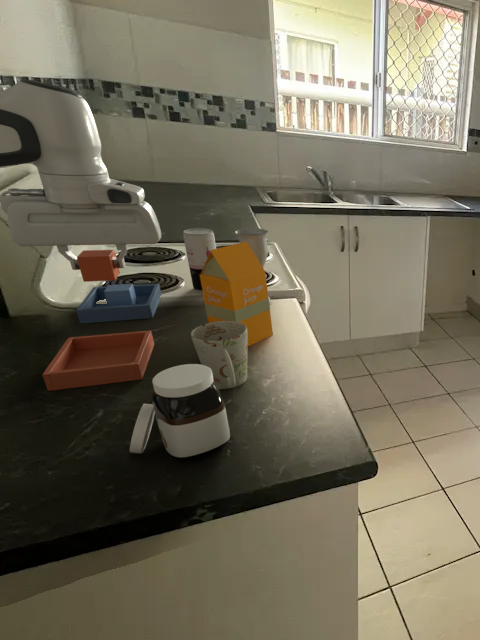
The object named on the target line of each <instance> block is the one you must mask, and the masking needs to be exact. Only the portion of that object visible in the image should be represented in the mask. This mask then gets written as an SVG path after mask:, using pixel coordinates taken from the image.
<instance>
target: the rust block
mask: <svg viewBox="0 0 480 640" xmlns="http://www.w3.org/2000/svg"><path fill="white" fill-rule="evenodd" d="M76 257H77V260H78V264H79V267H80V270H79V271H80V273H81V277H82V280H83V282H84V283H86V282H103V281H104V282H108V281H110V282H111V281H116V280H117V279H118V277H119V275H120V273H121V272H120V268H114V264H113V261H112V259H113V258H114V257H117V256H116V251H115V249H91V250H88V249H87V250H82V251H81V252H80V253H79V254H78V255H77V256H76Z"/></svg>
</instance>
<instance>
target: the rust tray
mask: <svg viewBox="0 0 480 640" xmlns="http://www.w3.org/2000/svg"><path fill="white" fill-rule="evenodd" d="M154 346H155V340H154V337H153V333H152V330H140V331H139V330H138V331H128V332H118V333H116V332H115V333H105V334H94V335H83V336H70V337H68V338H67V339H66V340H65V341H64V343H63V345H62V346H61V347H60V349H59V350H58V351H57V353H56V354H55V356H54V357H53V359H52V360H51V362H50V363H49V364H48V366H47V367H46V368H45V370H44V372H43V373H42V374H41V375H42V378H43V380H44V383H45V386H46V389H47V391H48V392H50V391H60V390H68V389H74V388H75V389H76V388H83V387H93V386H100V385H107V384H116V383H124V382H125V383H126V382H132V381H140V380H143V378H144V376H145V373H146V370H147V367H148V365H149V361H150V359H151V356H152V352H153V350H154Z"/></svg>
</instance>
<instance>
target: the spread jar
mask: <svg viewBox="0 0 480 640" xmlns="http://www.w3.org/2000/svg"><path fill="white" fill-rule="evenodd" d="M151 383H152V387H153V391H154V392H153V394H152V403H142V405H141V407H140V409H139V412H138V415H137V418H136V421H135V425H134V427H133V432H132V435H131V440H130V445H129V453H130V454H143V453H144V451H145V449H146V447H147V444H148V441H149V438H150V436H151V435H150V434H151V432H152V427H153V424H154V420H155V418H156V422H157V426H158V430H159V433H160V437H161V440H162V443H163V446H164V448H165V451H166V453H167V454H168V455H169V456H170V457H171V458H172V459H175V460H179V461H195V460H199V459H202V458H205V457H208V456H210V455H212V454H215V453H216V452H218V451H219V450H221V449H222V448H223V447H225V446H226V445H227V444H228V442H229V441H230V438H231V433H230V425H229V421H228V414H227V409H226V405H225V401H224V399H223V396H222V393H221V391H220V389H218V387H217V386H216V384H215V383H214V382H213V374H212V370H211V369H210V368H209V367H207V366H205V365H201V364H199V363H187V364H179V365H175V366H172V367H169V368H166V369H163V370H161V371H160V372H158V373H157V374H156V375H154V377H153V378H152V381H151Z"/></svg>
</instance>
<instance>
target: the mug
mask: <svg viewBox="0 0 480 640" xmlns="http://www.w3.org/2000/svg"><path fill="white" fill-rule="evenodd" d="M190 338H191V341H192V343H193V345H194V346H193V347H194V349H195V351H196V355H197V357H198V360H199V362H200V365H205V366H207V367H209V368H210V369H211V370H212V374H213V382H214V383H215V384H216V386H217V387H218V389H219V390H227V389H233V388H237V387H239V386H242V385H243V384H244V383H245V382H246V381H247V380H248V347H247V327H246V326H245V325H244V324H242V323H240V322H235V321H218V322H211V323H208V322H207V323H204V324H201V325H199V326H196V327H195V328H193V329H192V330H191V333H190Z"/></svg>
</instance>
